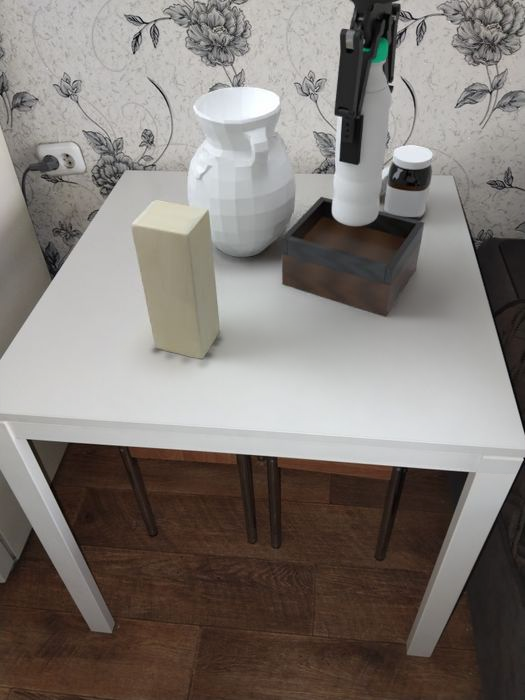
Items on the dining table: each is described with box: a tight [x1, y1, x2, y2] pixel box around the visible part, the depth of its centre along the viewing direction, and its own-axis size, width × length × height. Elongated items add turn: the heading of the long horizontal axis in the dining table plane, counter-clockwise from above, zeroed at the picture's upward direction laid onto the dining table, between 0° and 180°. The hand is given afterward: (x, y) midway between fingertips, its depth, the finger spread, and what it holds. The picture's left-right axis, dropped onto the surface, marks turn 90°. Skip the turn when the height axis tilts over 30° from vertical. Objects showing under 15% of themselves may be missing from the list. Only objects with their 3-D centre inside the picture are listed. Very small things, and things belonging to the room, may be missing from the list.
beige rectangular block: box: [130, 199, 221, 360], centre depth 81 cm, size 8×7×21 cm
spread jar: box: [379, 144, 434, 221], centre depth 109 cm, size 12×11×12 cm
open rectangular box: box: [281, 196, 425, 318], centre depth 95 cm, size 18×14×9 cm
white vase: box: [186, 86, 297, 258], centre depth 98 cm, size 19×18×25 cm
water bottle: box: [332, 37, 393, 226], centre depth 81 cm, size 7×7×25 cm
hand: (360, 150), depth 83 cm, fingers closed on water bottle, 7 cm apart
